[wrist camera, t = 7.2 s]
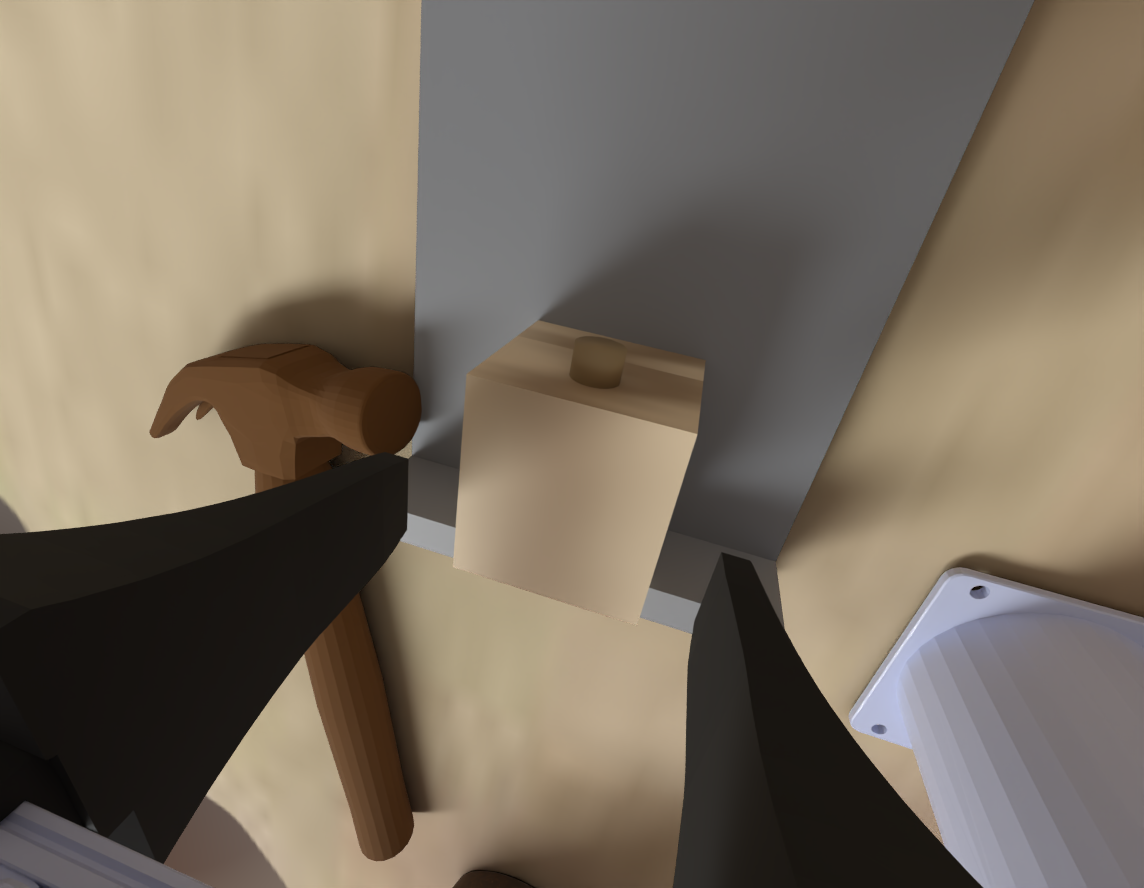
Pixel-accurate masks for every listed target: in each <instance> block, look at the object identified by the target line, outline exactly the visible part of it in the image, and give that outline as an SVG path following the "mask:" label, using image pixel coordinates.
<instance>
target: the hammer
mask: <svg viewBox="0 0 1144 888" xmlns="http://www.w3.org/2000/svg"><path fill="white" fill-rule="evenodd" d="M199 404H200V405H199ZM198 405H199V408H198V410H197V414H196V419H197V420H198V419H201V418H202V417H204V416H205V415H206V414H207V413H208V412H209V411H210V410H211V409H212V408H213V407H214V408H215V409H216V411H217V412H218V414H219V416H220V418H221V420H222V422H223V424H224V426H225V427H226V429H227V431H228V432H229V434H230V436H231V438H232V441H233V443H234V446H235V448H236V451H237V453H238V455H239V458H240V460H241V463H242V465H243V466H246V467H248V468H250V469H253V470H255V493H259V492H262V491H265V490H268V489H272V488H275V487H278V486H282V485H285V484H288V483H292V482H295V481H298V480H301V479H304V478H307V477H310V476H313V475H315V474H318V473H321V472H324V471H327V470H330V469H332V467H331V465H330V463H329V460H331V459H333V458H335V457H337V456H338V455H340V454H341V449H342V443H343V444H344V445H346V446H347V447H349V448H351V449H354V450H356V451H359V452H361V453H365V454H368V455H371V456H372V455H375V454H379V453H383V452H387V453H390V454H393V455H394V454H395V453H397V452H399V451H400V450H402V449H403V448H404V447H405V446H406V445H407V444H408V443H409V442H410V441H411V439H412V438H413V436H414V435H415V433H416V431H417V428H418V426H419V423H420V419H421V413H422V406H421V395H420V390H419V387H418V385H417V384H416V382H415V381H414V379H413V378H412V377H410V376H409V375H408V374H406V373H403V372H400V371H395V370H391V369H385V368H378V367H363V368H357V369H352V370H350V369H348V368H346V367H345V366H343V365H342V364H340V363H339V362H338V361H337V360H336V359H335V358H334V357H333V356H332V355H331V354H329V353H328V352H326V351H324V350H322V349H320V348H318V347H316V346H315V345H310V344H258V345H252V346H247V347H243V348H239V349H235V350H232V351H228V352H224V353H221V354H218V355H215V356H211V357H208V358H204V359H201V360H198V361H195V362H192V363H189V364H187V365H186V366H185V367H184V368H183V369H182V370H181V371H180V372H179V373H178V374H177V375H176V376H175V377H174V378H173V379H172V380H171V382H170V383H169V385H168V386H167V388H166V391H165V394H164V397H163V400H162V402H161V404H160V407H159V409H158V411H157V414H156V416H155V419H154V422H153V424H152V427H151V429H150V435H151V436H152V437H153V438H159V437H162V436H164V435H167V434H169V433H171V432H173V431H174V430H176V429H177V427H178V426H179V425H180V424H181V422H182V421H183V420H184V418H185V417H186V416H187V415H188V414H189V413H190V412H191V411H192V410H193V409H194V408H195V407H196V406H198ZM304 654H305V659H306V663H307V667H308V671H309V675H310V679H311V683H312V687H313V691H314V695H315V700H316V704H317V707H318V710H319V713H320V716H321V720H322V723H323V726H324V729H325V732H326V735H327V738H328V741H329V745H330V748H331V751H332V754H333V757H334V760H335V763H336V767H337V770H338V773H339V776H340V779H341V782H342V785H343V788H344V792H345V795H346V798H347V801H348V804H349V807H350V811H351V814H352V818H353V822H354V826H355V830H356V834H357V837H358V841H359V845H360V848H361V850H362V853H363V854H364V855H365V856H366V857H367V858H368V859H371V860H374V861H385V860H387V859H390V858H393V857H394V856H396V855H397V854H398V853H400V852H401V851H402V850H403V849H404V847H405V846H406V845H407V844H408V842H409V840H410V838H411V836H412V833H413V828H414V820H413V814H412V811H411V807H410V803H409V799H408V795H407V791H406V787H405V784H404V779H403V774H402V769H401V764H400V760H399V755H398V750H397V745H396V740H395V735H394V731H393V726H392V721H391V716H390V711H389V706H388V701H387V697H386V692H385V687H384V682H383V678H382V674H381V670H380V667H379V663H378V659H377V656H376V652H375V649H374V645H373V641H372V638H371V634H370V630H369V627H368V623H367V619H366V616H365V612H364V609H363V605H362V601H361V598H360V594H359V593H358V594H357V595H356V596H355V597H354V598H353V599H352V600H351V601H350V603H349V604H348V605H347V606H346V607H345V608H344V609H343V610H342V611H341V612H340V614H339V615H338V616H337V617H336V618H335V619H334V620H333V621H332V622H331V623H330V625H329V626H328V627H327V628H326V629H325V630H324V631H323V632H322V633H321V634H320V636H319V637H318V638H317V639H316V640H315V641H314V643H313V644H312V645H311V646H310V647H309V649H308V650H307V651H306V652H305V653H304Z"/></svg>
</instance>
